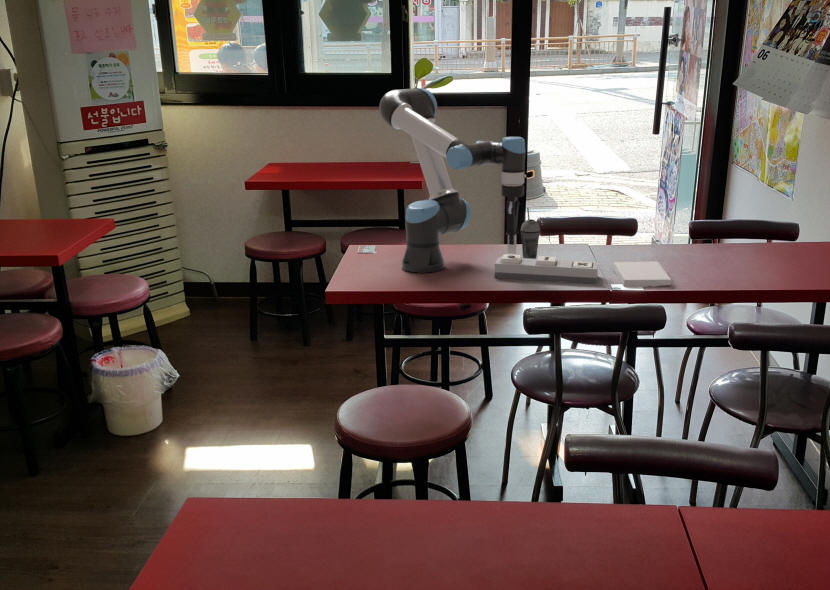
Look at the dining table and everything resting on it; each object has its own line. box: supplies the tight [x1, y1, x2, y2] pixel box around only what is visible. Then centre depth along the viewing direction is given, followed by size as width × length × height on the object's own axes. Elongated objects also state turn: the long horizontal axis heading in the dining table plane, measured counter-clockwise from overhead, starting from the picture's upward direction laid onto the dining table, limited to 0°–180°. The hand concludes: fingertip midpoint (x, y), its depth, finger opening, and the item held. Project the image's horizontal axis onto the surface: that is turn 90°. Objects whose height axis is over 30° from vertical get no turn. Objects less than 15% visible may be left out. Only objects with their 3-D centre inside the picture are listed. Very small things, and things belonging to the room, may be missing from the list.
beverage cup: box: [519, 207, 542, 259], centre depth 292 cm, size 7×7×20 cm
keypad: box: [493, 256, 599, 284], centre depth 275 cm, size 34×9×5 cm, turn 75°
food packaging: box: [613, 261, 672, 288], centre depth 273 cm, size 15×3×20 cm
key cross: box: [573, 261, 592, 268], centre depth 272 cm, size 6×6×3 cm
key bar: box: [536, 255, 557, 266], centre depth 274 cm, size 6×6×3 cm
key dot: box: [501, 253, 522, 264], centre depth 277 cm, size 6×6×3 cm
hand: (511, 252), depth 276 cm, fingers closed
